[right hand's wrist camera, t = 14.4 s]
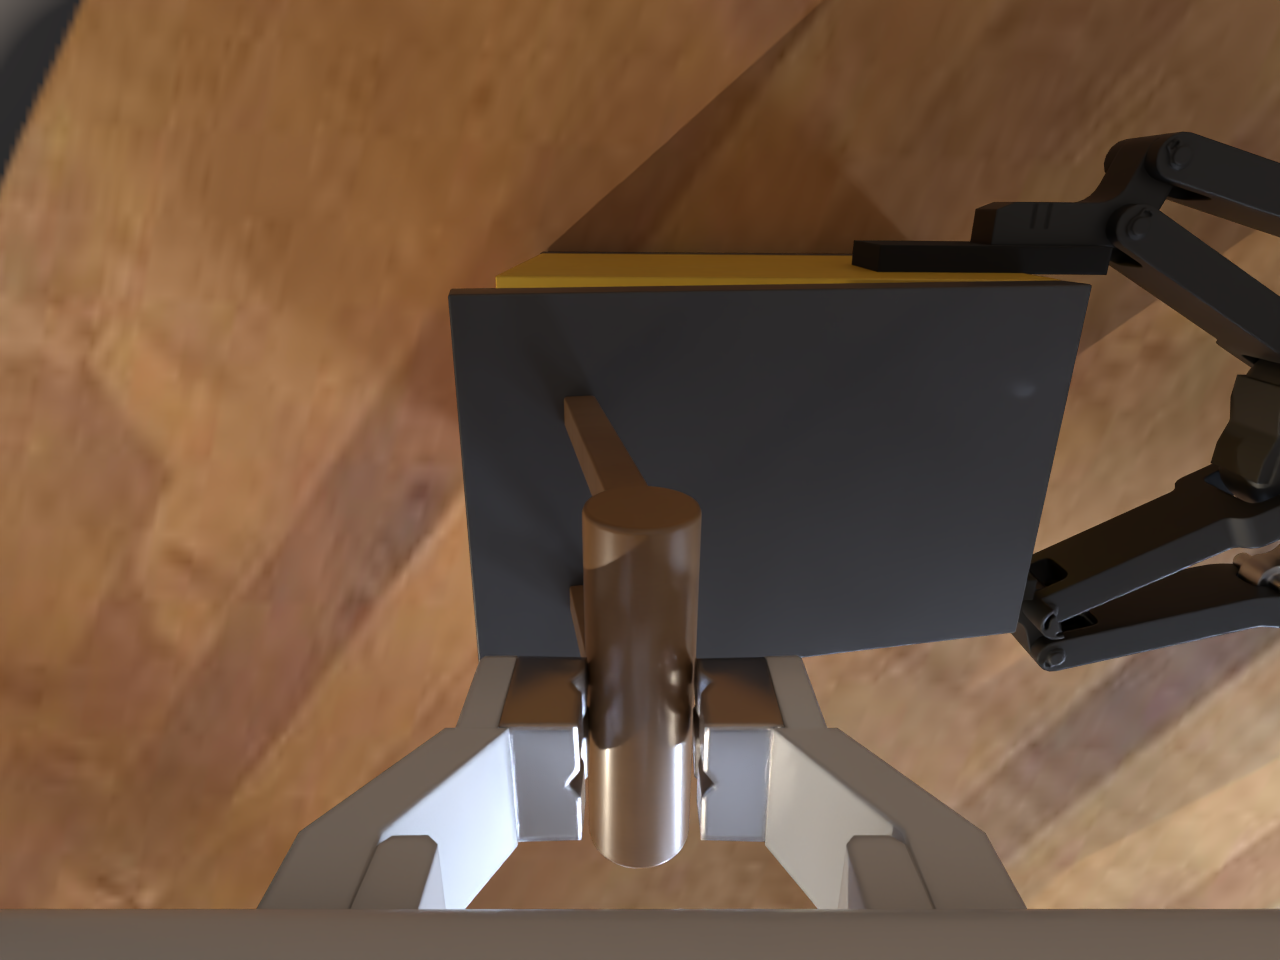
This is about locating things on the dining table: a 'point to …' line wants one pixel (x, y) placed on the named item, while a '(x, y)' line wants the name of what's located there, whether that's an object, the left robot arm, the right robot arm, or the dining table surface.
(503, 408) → the lid
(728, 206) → the dining table surface
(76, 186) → the dining table surface
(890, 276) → the chest
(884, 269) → the left robot arm
